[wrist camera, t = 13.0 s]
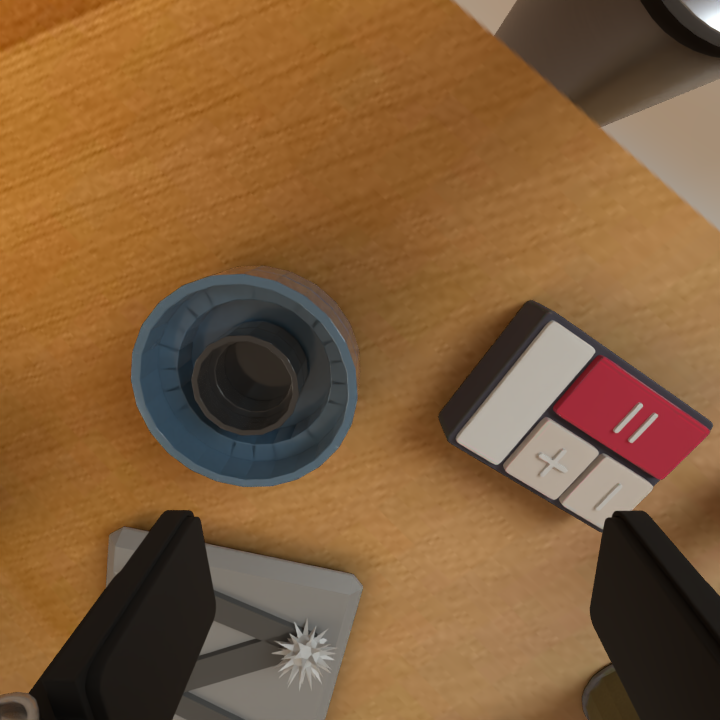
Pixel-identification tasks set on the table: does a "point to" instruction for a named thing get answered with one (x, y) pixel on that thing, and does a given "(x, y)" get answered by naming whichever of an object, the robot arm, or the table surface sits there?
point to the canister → (607, 698)
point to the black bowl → (250, 378)
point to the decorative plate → (263, 635)
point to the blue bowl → (207, 323)
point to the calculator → (570, 418)
